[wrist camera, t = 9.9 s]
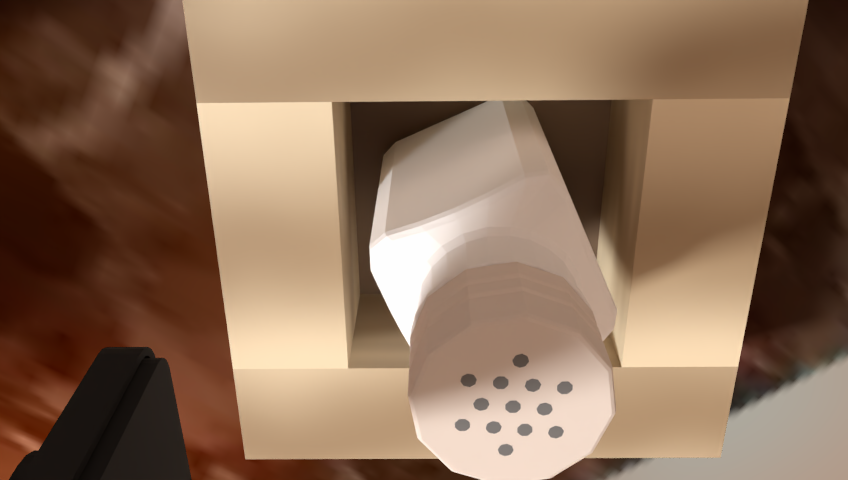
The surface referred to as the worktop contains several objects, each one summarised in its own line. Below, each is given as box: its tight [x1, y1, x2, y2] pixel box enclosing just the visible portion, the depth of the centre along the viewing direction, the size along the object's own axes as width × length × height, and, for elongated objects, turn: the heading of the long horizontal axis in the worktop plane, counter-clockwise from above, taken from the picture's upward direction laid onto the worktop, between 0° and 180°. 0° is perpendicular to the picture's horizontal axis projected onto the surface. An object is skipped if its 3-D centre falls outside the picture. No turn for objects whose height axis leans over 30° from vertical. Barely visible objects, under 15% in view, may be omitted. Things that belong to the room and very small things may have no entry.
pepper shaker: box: [369, 100, 617, 480], centre depth 16 cm, size 4×4×10 cm
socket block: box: [182, 0, 809, 459], centre depth 20 cm, size 12×12×4 cm
